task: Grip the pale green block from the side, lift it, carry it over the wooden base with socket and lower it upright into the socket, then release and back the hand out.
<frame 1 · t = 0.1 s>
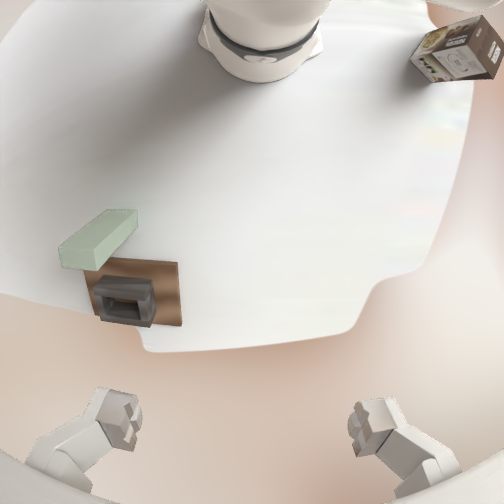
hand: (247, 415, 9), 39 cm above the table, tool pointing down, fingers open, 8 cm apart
coffee box: (430, 57, 33), on the table
pale green block: (122, 217, 46), on the table
wooden base with socket: (131, 290, 53), on the table
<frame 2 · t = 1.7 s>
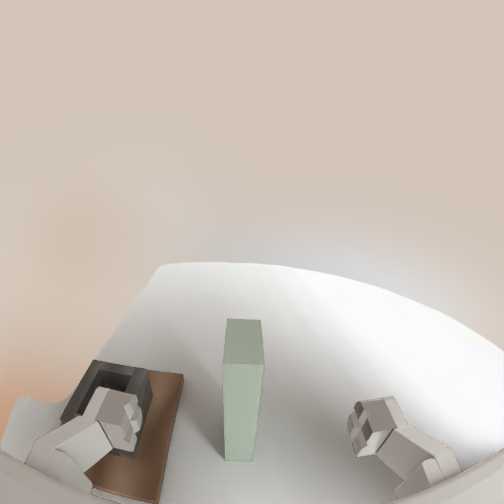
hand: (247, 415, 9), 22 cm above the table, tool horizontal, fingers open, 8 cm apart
pale green block: (238, 440, 28), on the table
wooden base with socket: (118, 425, 27), on the table
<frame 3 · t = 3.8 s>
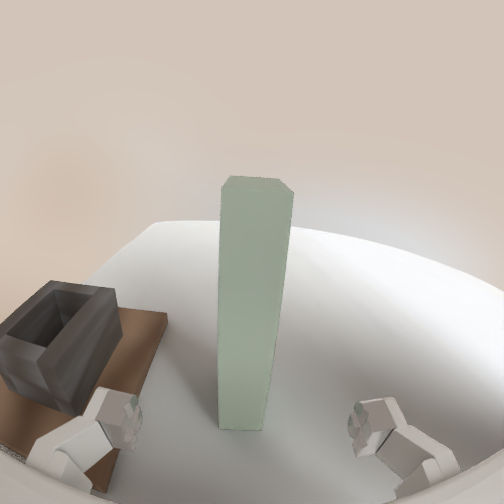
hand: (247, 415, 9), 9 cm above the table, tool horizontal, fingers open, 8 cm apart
pale green block: (240, 400, 20), on the table
wooden base with socket: (70, 372, 19), on the table
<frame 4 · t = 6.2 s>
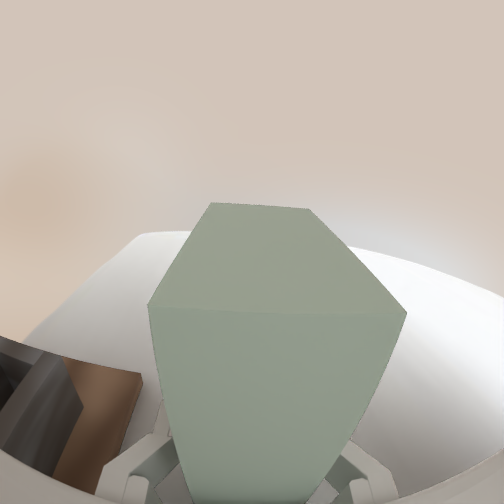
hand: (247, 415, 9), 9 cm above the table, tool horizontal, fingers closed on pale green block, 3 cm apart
wooden base with socket: (26, 450, 11), on the table
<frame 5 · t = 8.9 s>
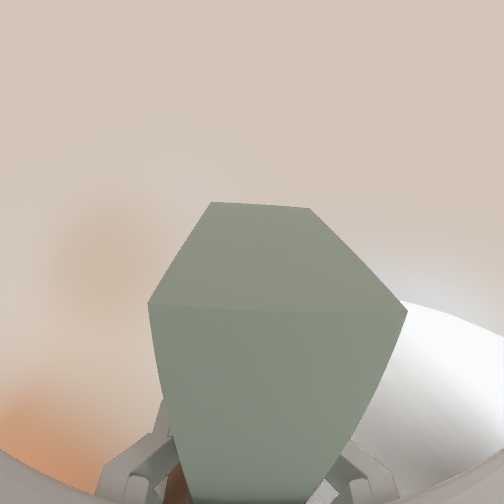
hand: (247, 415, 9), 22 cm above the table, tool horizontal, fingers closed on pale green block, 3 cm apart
when the fingers open (11 cm above the table, at t = 11.8 s): pale green block drops 1 cm, resting on wooden base with socket.
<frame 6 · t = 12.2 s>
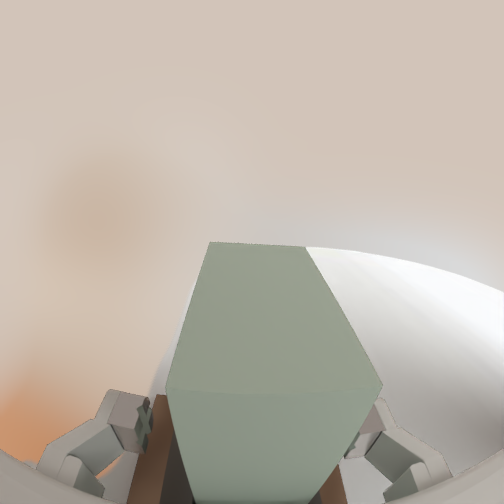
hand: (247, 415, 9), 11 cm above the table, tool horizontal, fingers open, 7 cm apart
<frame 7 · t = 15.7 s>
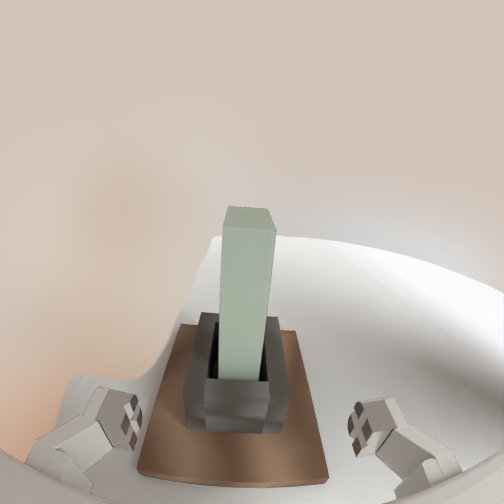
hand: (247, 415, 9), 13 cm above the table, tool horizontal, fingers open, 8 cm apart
pale green block: (236, 388, 24), point 1 cm above the table, touching wooden base with socket
wooden base with socket: (235, 396, 25), on the table
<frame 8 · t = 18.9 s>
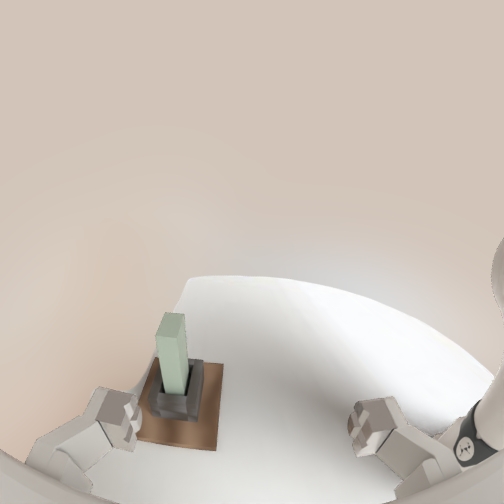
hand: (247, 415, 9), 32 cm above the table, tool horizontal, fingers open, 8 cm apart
pale green block: (180, 397, 44), point 1 cm above the table, touching wooden base with socket
wooden base with socket: (180, 401, 44), on the table
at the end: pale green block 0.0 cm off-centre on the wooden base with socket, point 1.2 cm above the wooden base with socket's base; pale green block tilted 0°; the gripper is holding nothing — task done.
